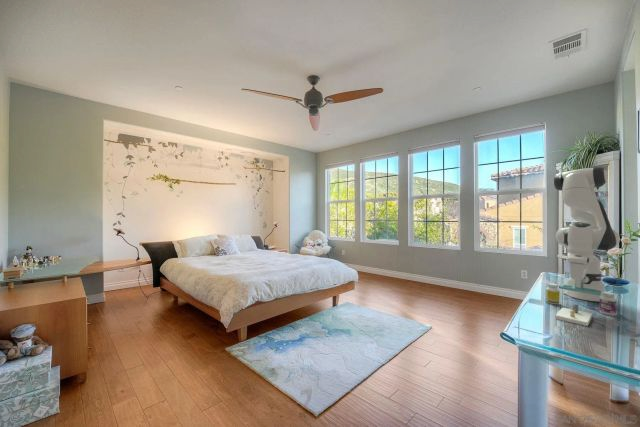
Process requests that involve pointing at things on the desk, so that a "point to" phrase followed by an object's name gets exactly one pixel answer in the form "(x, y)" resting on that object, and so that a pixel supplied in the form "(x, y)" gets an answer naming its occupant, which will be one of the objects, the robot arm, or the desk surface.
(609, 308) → the pill bottle
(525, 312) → the desk surface
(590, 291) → the teal bar
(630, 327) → the desk surface
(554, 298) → the supplement bottle
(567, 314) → the post board
